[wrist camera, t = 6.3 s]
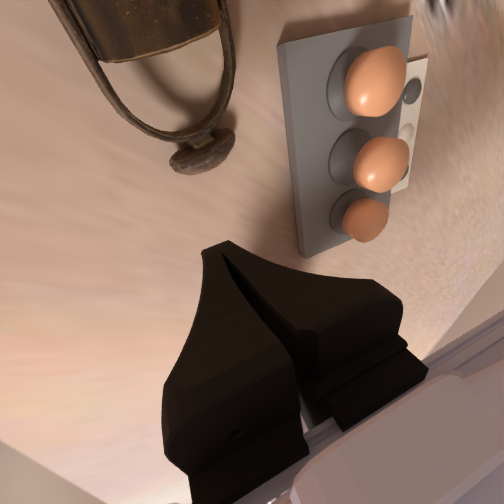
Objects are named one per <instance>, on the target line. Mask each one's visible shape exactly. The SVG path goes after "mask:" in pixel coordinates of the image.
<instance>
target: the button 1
mask: <svg viewBox="0 0 504 504" xmlns="http://www.w3.org/2000/svg"><path fill="white" fill-rule="evenodd" d="M388 215H389V212H388V208H387V206H386V205H385V204H384V203H381V202H379V201H376V200H373V199H371V198H368V197H363V198H360V199H358V200H356V201H355V202H353V203H352V204H351V205H350V207H349V208H348V209H347V211H346V213H345V215H344V218H343V222H342V227H343V230H344V232H345V233H346V234H347V235H349V236H351V237H352V238H354V239H356V240H357V241H359V242H363V243H365V242H369V241H371V240H373V239H374V238H376V237H377V236H378V235H379V234H380V233H381V232H382V230H383V229H384V227H385V225H386V223H387V220H388Z"/></svg>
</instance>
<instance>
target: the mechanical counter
mask: <svg viewBox="0 0 504 504" xmlns="http://www.w3.org/2000/svg"><path fill="white" fill-rule="evenodd" d="M48 2H49V3H50V5H51V7H52V8H53V10H54V12H55V13H56V15H57V17H58V18H59V20H60V22H61V24H62V25H63V27H64V29H65V30H66V32H67V34H68V35H69V37H70V39H71V40H72V42H73V44H74V45H75V47H76V49H77V50H78V52H79V54H80V56H81V57H82V59H83V61H84V62H85V64H86V66H87V67H88V69H89V71H90V72H91V74H92V76H93V77H94V79H95V81H96V82H97V84H98V86H99V87H100V89H101V91H102V92H103V94H104V96H105V97H106V98H107V100H108V101H109V102H110V104H111V105H112V106H113V108H114V109H115V110H116V111H117V113H118V114H119V115H120V116H121V117H123V118H124V119H125V120H126V121H128V122H129V123H130V124H132V125H133V126H135V127H136V128H138V129H139V130H141V131H142V132H144V133H145V134H147V135H149V136H152V137H154V138H157V139H160V140H163V141H166V142H175V143H177V142H186V141H187V142H188V144H186V145H185V146H183V147H182V148H181V149H179V150H178V151H177V152H176V153H175V154H174V155H172V157H171V158H170V160H169V162H170V166H171V167H172V168H173V169H174V171H175V172H178V173H180V174H186V175H195V174H200V173H203V172H207V171H209V170H211V169H213V168H215V167H217V166H218V165H220V164H221V163H222V162H223V161H224V160H225V159H226V158H227V156H228V154H229V153H230V151H231V149H232V148H233V146H234V142H235V134H234V132H233V131H232V130H230V129H222V130H217V131H214V132H211V133H210V131H211V129H212V128H213V127H214V126H215V125H216V124H217V123H218V121H219V120H220V119H221V117H222V116H223V114H224V113H225V111H226V108H227V105H228V103H229V100H230V97H231V94H232V90H233V84H234V77H235V69H236V61H235V46H234V40H233V34H232V28H231V23H230V18H229V13H228V8H227V3H226V0H48ZM218 28H219V33H220V38H221V42H222V49H223V56H224V72H223V76H222V81H221V86H220V90H219V95H218V97H217V100H216V102H215V104H214V106H213V108H212V109H211V111H210V113H209V114H208V115H207V116H206V117H205V118H204V119H203V120H202V121H201V122H200V123H198V124H196V125H194V126H192V127H190V128H187V129H185V130H182V131H176V132H168V131H161V130H158V129H155V128H153V127H151V126H149V125H147V124H145V123H144V122H142V121H141V120H139V119H138V118H137V117H135V116H134V115H133V114H132V113H131V112H130V111H129V110H128V109H127V108H126V106H125V105H124V104H123V103H122V102H121V100H120V99H119V97H118V96H117V94H116V92H115V91H114V89H113V88H112V86H111V84H110V82H109V80H108V79H107V77H106V75H105V73H104V72H103V70H102V68H101V66H100V65H99V63H98V61H99V60H101V61H103V62H105V63H110V62H113V63H122V62H127V61H131V60H136V59H141V58H146V57H150V56H154V55H158V54H163V53H167V52H170V51H173V50H176V49H179V48H181V47H183V46H185V45H188V44H190V43H192V42H194V41H197V40H200V39H202V38H204V37H206V36H209V35H210V34H212V33H213V32H214V31H216V30H217V29H218Z"/></svg>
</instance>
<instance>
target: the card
mask: <svg viewBox="0 0 504 504" xmlns="http://www.w3.org/2000/svg"><path fill="white" fill-rule="evenodd" d="M427 64H428V58H423V59H420V60H416V61H412V62H408V63H407V68H406V80H405V84H404V92H403V100H402V108H401V116H400V124H399V132H398V138H399V139H403V140H404V141H405V142H406V143H407V144H408V147H409V152H410V157H409V163H408V166H407V169H406V171H405V173H404V175H403V177H402V178H401V180H400V181H399V182H398V183H397V184H396V185H395V186H394V187H393V188H392V189H391V194H392V193H395V192H397V191H399V190H402V189H404V188H407V187H408V180H409V174H410V168H411V162H412V156H413V150H414V143H415V137H416V131H417V125H418V119H419V113H420V107H421V100H422V94H423V88H424V82H425V76H426V70H427Z"/></svg>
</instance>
